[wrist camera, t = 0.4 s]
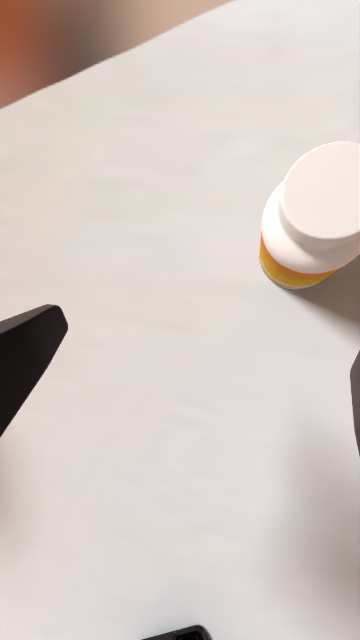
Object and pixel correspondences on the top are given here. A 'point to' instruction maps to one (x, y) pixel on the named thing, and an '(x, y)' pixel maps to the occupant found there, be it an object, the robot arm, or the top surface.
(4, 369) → the robot arm
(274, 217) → the supplement bottle
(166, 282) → the top surface
